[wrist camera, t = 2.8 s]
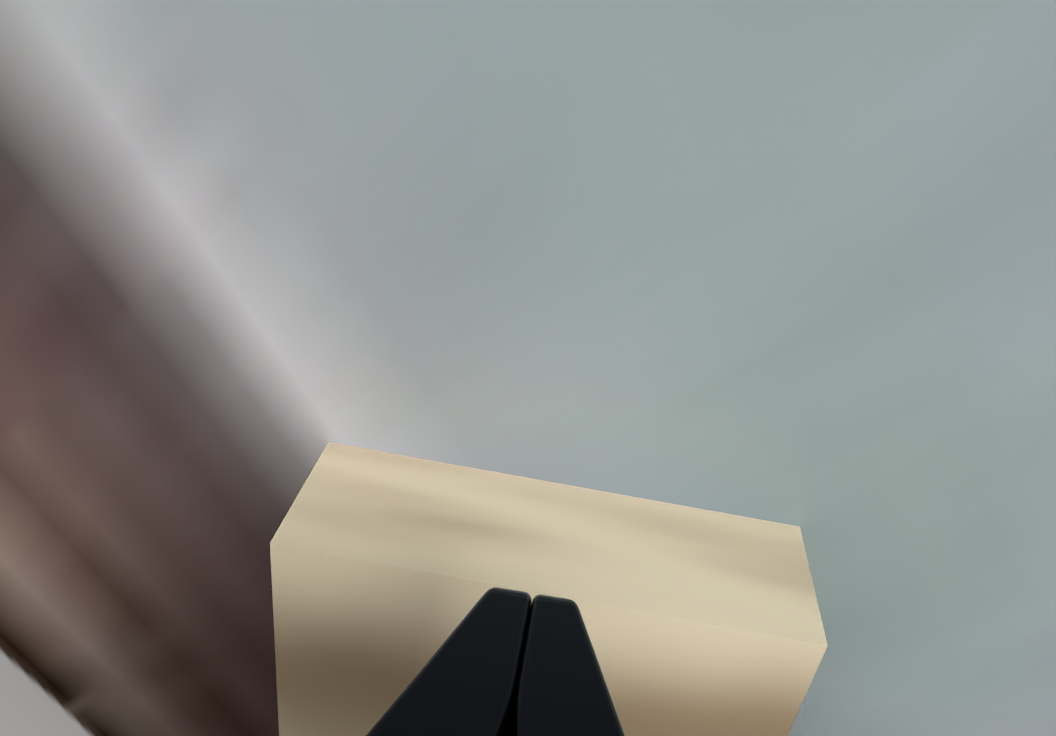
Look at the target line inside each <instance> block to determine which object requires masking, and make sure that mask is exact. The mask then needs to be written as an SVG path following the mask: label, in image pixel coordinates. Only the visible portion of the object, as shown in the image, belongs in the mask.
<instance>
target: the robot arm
mask: <svg viewBox="0 0 1056 736" xmlns="http://www.w3.org/2000/svg"><path fill="white" fill-rule="evenodd" d="M366 736H625V734H624V731H623V728H622V726H621V723H620V720H619V717H618V715H617V712H616V709H615V706H614V704H613V701H612V698H611V695H610V693H609V690H608V687H607V684H606V682H605V679H604V676H603V673H602V670H601V668H600V665H599V662H598V659H597V657H596V654H595V651H594V648H593V646H592V643H591V640H590V637H589V635H588V632H587V629H586V626H585V624H584V621H583V618H582V615H581V613H580V610H579V608H578V606H577V604H576V603H575V602H574V601H573V600H571V599H565V598H559V597H553V596H547V595H537V596H535V597H534V598H533V600H532V598H531V596H530V595H529V594H528V593H527V592H523V591H517V590H511V589H504V588H498V587H493V588H491V589H489V590H488V591H486V592H485V594H484V595H483V596H482V597H481V598H480V599H479V601H478V602H477V603H476V604H475V605H474V607H473V608H472V609H471V610H470V611H469V613H468V614H467V615H466V616H465V617H464V619H463V620H462V621H461V622H460V623H459V625H458V626H457V627H456V628H455V629H454V631H453V632H452V633H451V634H450V635H449V637H448V638H447V639H446V640H445V641H444V643H443V644H442V645H441V646H440V647H439V649H438V650H437V651H436V652H435V653H434V655H433V656H432V657H431V658H430V659H429V661H428V662H427V663H426V664H425V665H424V667H423V668H422V669H421V670H420V671H419V673H418V674H417V675H416V676H415V677H414V678H413V680H412V681H411V682H410V683H409V684H408V686H407V687H406V688H405V689H404V690H403V692H402V693H401V694H400V695H399V696H398V698H397V699H396V700H395V701H394V702H393V704H392V705H391V706H390V707H389V708H388V710H387V711H386V712H385V713H384V714H383V716H382V717H381V718H380V719H379V720H378V722H377V723H376V724H375V725H374V726H373V728H372V729H371V730H370V731H369V732H368V734H367V735H366Z"/></svg>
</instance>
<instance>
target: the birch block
mask: <svg viewBox="0 0 1056 736" xmlns="http://www.w3.org/2000/svg"><path fill="white" fill-rule="evenodd" d="M270 554H271V575H272V596H273V617H274V638H275V659H276V680H277V701H278V722H279V736H366V735H367V734H368V732H369V731H370V730H371V729H372V728H373V726H374V725H375V724H376V723H377V722H378V720H379V719H380V718H381V717H382V716H383V714H384V713H385V712H386V711H387V710H388V708H389V707H390V706H391V705H392V704H393V702H394V701H395V700H396V699H397V698H398V696H399V695H400V694H401V693H402V692H403V690H404V689H405V688H406V687H407V686H408V684H409V683H410V682H411V681H412V680H413V678H414V677H415V676H416V675H417V674H418V673H419V671H420V670H421V669H422V668H423V667H424V665H425V664H426V663H427V662H428V661H429V659H430V658H431V657H432V656H433V655H434V653H435V652H436V651H437V650H438V649H439V647H440V646H441V645H442V644H443V643H444V641H445V640H446V639H447V638H448V637H449V635H450V634H451V633H452V632H453V631H454V629H455V628H456V627H457V626H458V625H459V623H460V622H461V621H462V620H463V619H464V617H465V616H466V615H467V614H468V613H469V611H470V610H471V609H472V608H473V607H474V605H475V604H476V603H477V602H478V601H479V599H480V598H481V597H482V596H483V595H484V594H485V592H486V591H488V590H489V589H491V588H493V587H498V588H504V589H511V590H517V591H523V592H527V593H528V594H529V595H530V596H531V598H532V600H533V598H534V597H535V596H537V595H547V596H553V597H559V598H565V599H571V600H573V601H574V602H575V603H576V604H577V606H578V608H579V610H580V613H581V615H582V618H583V621H584V624H585V626H586V629H587V632H588V635H589V637H590V640H591V643H592V646H593V648H594V651H595V654H596V657H597V659H598V662H599V665H600V668H601V670H602V673H603V676H604V679H605V682H606V684H607V687H608V690H609V693H610V695H611V698H612V701H613V704H614V706H615V709H616V712H617V715H618V717H619V720H620V723H621V726H622V728H623V731H624V734H625V736H788V733H789V731H790V729H791V727H792V724H793V722H794V720H795V718H796V715H797V713H798V711H799V709H800V706H801V704H802V702H803V700H804V697H805V695H806V693H807V691H808V689H809V686H810V684H811V682H812V680H813V677H814V675H815V673H816V671H817V668H818V666H819V664H820V662H821V659H822V657H823V655H824V653H825V650H826V648H827V646H828V645H827V641H826V637H825V632H824V628H823V624H822V620H821V615H820V611H819V607H818V603H817V598H816V594H815V590H814V585H813V581H812V577H811V573H810V568H809V564H808V560H807V555H806V551H805V547H804V543H803V538H802V534H801V530H800V527H799V526H793V525H788V524H782V523H777V522H771V521H765V520H760V519H754V518H749V517H743V516H737V515H732V514H726V513H721V512H715V511H710V510H704V509H698V508H693V507H687V506H682V505H676V504H671V503H665V502H659V501H654V500H648V499H643V498H637V497H632V496H626V495H620V494H615V493H609V492H604V491H598V490H593V489H587V488H581V487H576V486H570V485H565V484H559V483H554V482H548V481H542V480H537V479H531V478H526V477H520V476H515V475H509V474H503V473H498V472H492V471H487V470H481V469H476V468H470V467H464V466H459V465H453V464H448V463H442V462H436V461H431V460H425V459H420V458H414V457H409V456H403V455H397V454H392V453H386V452H381V451H375V450H370V449H364V448H358V447H353V446H347V445H342V444H336V443H331V442H328V444H327V445H326V447H325V449H324V451H323V452H322V454H321V456H320V458H319V459H318V461H317V463H316V464H315V466H314V468H313V470H312V471H311V473H310V475H309V476H308V478H307V480H306V482H305V483H304V485H303V487H302V489H301V490H300V492H299V494H298V495H297V497H296V499H295V501H294V502H293V504H292V506H291V508H290V509H289V511H288V513H287V514H286V516H285V518H284V520H283V521H282V523H281V525H280V526H279V528H278V530H277V532H276V533H275V535H274V537H273V539H272V540H271V542H270Z"/></svg>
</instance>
